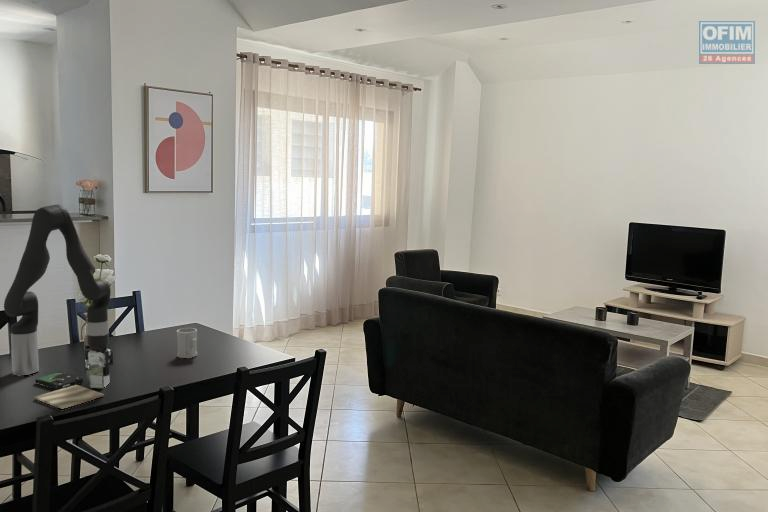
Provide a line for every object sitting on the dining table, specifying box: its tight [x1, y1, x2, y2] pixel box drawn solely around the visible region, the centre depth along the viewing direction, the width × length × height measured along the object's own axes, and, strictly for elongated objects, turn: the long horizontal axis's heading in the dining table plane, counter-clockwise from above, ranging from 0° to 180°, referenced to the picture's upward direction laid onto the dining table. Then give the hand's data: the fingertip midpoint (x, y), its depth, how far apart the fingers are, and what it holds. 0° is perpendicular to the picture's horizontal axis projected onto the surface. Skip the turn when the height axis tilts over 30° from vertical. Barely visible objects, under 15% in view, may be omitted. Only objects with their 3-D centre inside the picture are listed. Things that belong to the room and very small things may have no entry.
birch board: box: [34, 385, 105, 409], centre depth 226 cm, size 17×16×1 cm
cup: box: [176, 327, 198, 359], centre depth 280 cm, size 10×9×12 cm
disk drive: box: [34, 371, 84, 390], centre depth 241 cm, size 10×3×15 cm
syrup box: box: [87, 348, 111, 389], centre depth 238 cm, size 6×6×14 cm
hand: (99, 373), depth 238 cm, fingers closed on syrup box, 8 cm apart
